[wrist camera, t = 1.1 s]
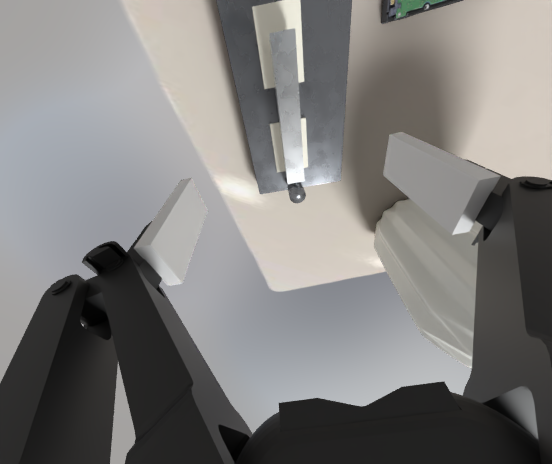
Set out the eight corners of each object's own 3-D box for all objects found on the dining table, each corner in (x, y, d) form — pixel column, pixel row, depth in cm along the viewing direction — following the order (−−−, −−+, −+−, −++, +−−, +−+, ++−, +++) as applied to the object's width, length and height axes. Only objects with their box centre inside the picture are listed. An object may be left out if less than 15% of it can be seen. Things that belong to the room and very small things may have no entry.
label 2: (269, 123, 28) (269, 124, 27) (305, 117, 28) (305, 117, 27) (276, 171, 32) (277, 172, 32) (307, 166, 32) (308, 167, 32)
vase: (355, 198, 41) (462, 339, 19) (459, 164, 37) (724, 288, 16) (362, 258, 52) (433, 387, 31) (441, 236, 49) (580, 363, 28)
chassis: (216, -12, 22) (209, -26, 19) (343, -39, 22) (358, -58, 18) (259, 185, 37) (259, 196, 34) (334, 172, 37) (342, 182, 33)
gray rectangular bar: (302, 191, 33) (306, 201, 31) (287, 194, 34) (290, 204, 31) (291, 32, 21) (295, 27, 19) (268, 36, 21) (269, 32, 19)
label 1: (252, 7, 21) (252, 6, 21) (299, -3, 21) (300, -4, 20) (264, 88, 25) (264, 89, 25) (303, 81, 25) (304, 81, 25)
